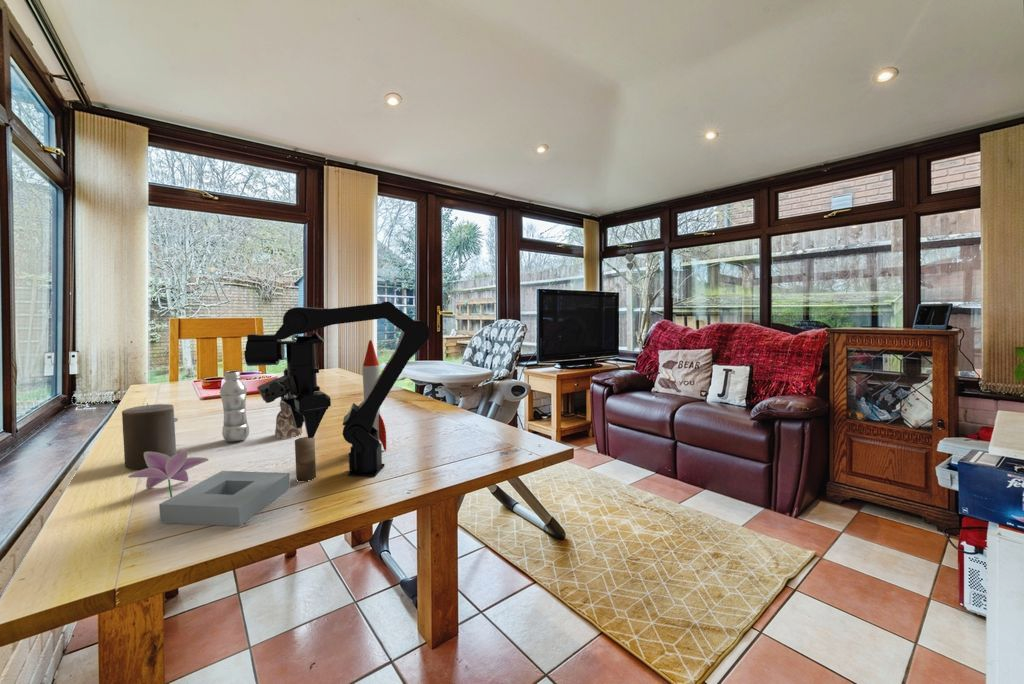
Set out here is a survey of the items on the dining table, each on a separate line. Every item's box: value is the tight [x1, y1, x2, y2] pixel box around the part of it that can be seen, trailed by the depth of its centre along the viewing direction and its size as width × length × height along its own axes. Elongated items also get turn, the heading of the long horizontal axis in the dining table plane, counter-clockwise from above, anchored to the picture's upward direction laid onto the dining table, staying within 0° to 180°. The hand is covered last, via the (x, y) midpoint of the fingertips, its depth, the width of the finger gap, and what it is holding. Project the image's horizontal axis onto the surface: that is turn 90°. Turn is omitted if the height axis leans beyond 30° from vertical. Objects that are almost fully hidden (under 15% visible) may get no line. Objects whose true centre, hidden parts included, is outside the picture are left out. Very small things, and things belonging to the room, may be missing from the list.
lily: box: [127, 448, 210, 498], centre depth 87 cm, size 12×12×10 cm
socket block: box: [158, 470, 291, 527], centre depth 82 cm, size 15×15×4 cm
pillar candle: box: [121, 402, 177, 470], centre depth 103 cm, size 10×10×15 cm
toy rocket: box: [362, 339, 387, 451], centre depth 112 cm, size 6×6×30 cm
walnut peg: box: [294, 436, 317, 482], centre depth 94 cm, size 4×4×9 cm
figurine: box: [274, 397, 303, 439], centre depth 124 cm, size 7×7×12 cm
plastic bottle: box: [219, 370, 250, 443], centre depth 119 cm, size 6×7×20 cm
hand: (304, 432), depth 94 cm, fingers open, 9 cm apart
